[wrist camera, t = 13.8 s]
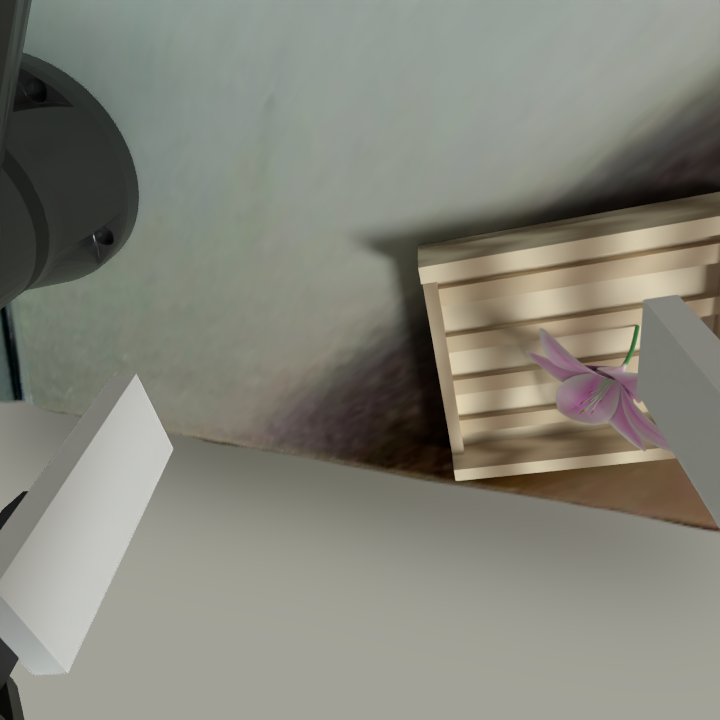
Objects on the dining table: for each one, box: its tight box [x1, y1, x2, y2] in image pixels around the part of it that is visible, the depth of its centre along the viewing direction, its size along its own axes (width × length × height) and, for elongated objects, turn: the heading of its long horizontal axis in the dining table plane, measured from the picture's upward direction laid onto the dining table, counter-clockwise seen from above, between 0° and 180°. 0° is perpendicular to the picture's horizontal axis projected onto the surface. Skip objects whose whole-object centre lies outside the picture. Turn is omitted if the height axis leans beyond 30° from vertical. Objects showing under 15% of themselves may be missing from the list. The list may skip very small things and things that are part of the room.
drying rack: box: [418, 192, 720, 481], centre depth 42 cm, size 21×19×4 cm
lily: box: [526, 325, 673, 453], centre depth 39 cm, size 12×12×10 cm
